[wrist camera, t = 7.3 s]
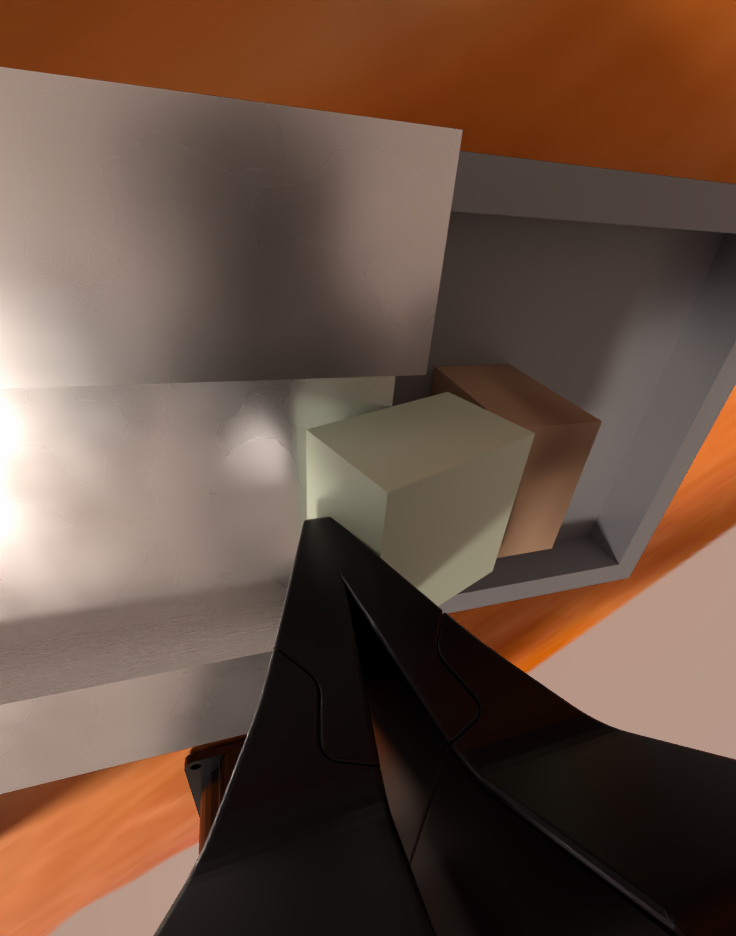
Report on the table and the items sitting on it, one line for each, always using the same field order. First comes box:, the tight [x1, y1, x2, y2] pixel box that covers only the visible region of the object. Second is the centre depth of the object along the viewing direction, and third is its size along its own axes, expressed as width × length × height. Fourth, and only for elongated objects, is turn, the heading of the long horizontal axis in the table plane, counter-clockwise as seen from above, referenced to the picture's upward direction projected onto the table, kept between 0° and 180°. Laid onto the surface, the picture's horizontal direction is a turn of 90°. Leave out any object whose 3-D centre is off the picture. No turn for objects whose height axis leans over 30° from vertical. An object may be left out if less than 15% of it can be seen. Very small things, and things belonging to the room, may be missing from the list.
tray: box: [392, 151, 736, 614], centre depth 14 cm, size 14×12×2 cm
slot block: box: [0, 67, 463, 794], centre depth 10 cm, size 14×14×5 cm
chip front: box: [306, 392, 535, 606], centre depth 10 cm, size 4×4×2 cm
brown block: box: [431, 364, 602, 558], centre depth 13 cm, size 4×4×2 cm
